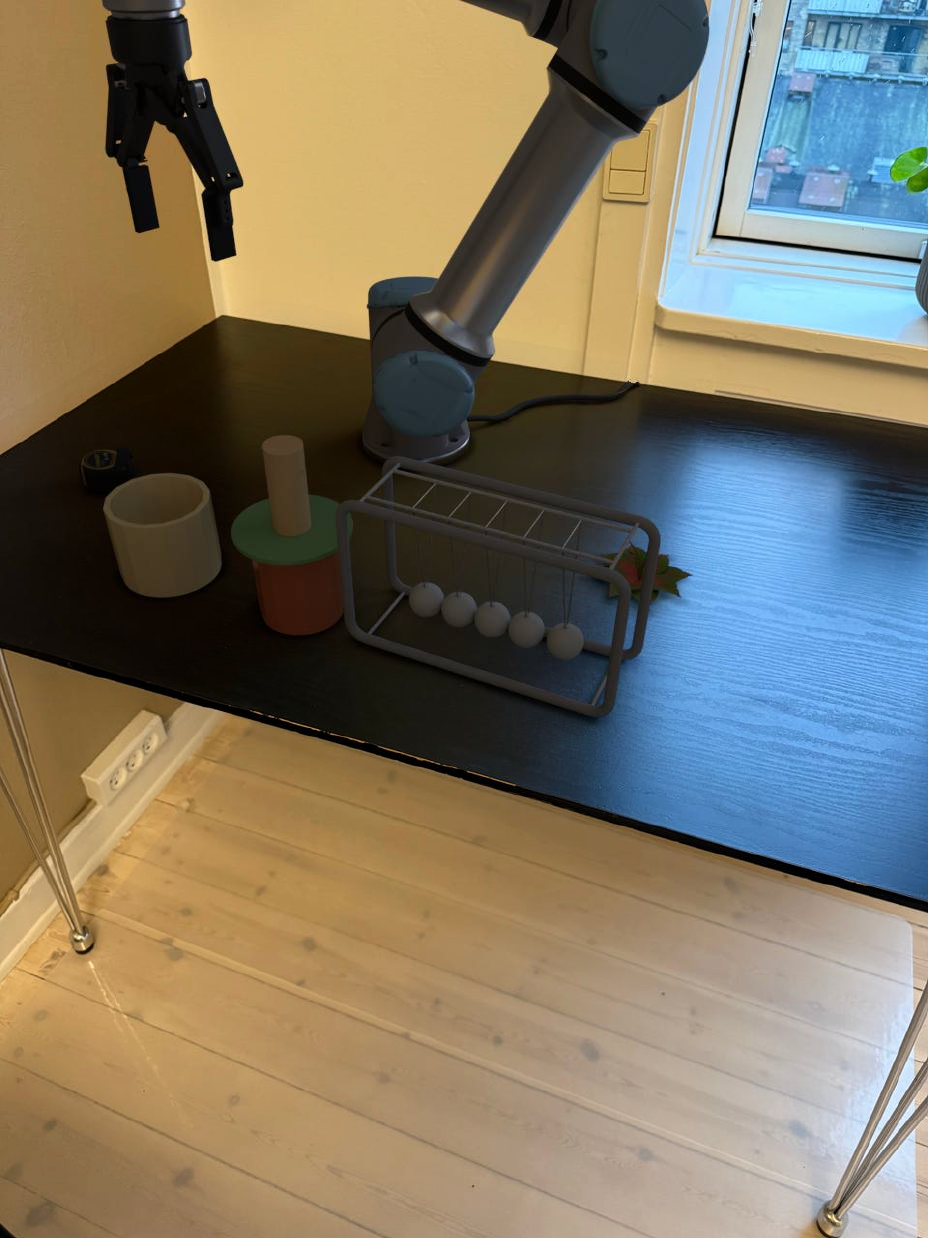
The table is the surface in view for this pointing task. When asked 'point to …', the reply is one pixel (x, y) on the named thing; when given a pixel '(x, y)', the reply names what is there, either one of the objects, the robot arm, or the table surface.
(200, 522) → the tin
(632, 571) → the red green leaf
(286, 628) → the cup
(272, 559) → the lid
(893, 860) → the table surface
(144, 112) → the robot arm
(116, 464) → the tape measure
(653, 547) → the newton's cradle
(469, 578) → the table surface
